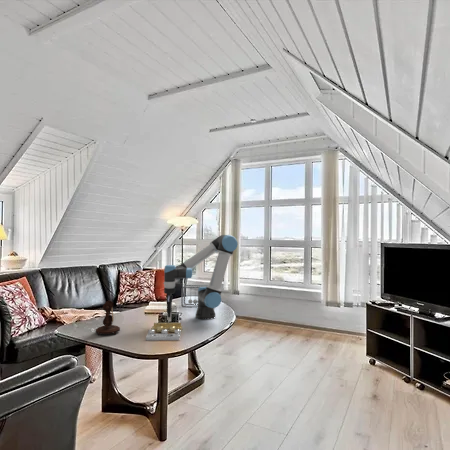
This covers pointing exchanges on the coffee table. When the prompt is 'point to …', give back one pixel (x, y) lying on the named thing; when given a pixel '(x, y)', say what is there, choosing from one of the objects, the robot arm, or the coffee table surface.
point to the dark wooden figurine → (108, 321)
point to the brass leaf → (167, 327)
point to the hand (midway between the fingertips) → (169, 321)
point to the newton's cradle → (190, 295)
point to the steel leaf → (163, 335)
